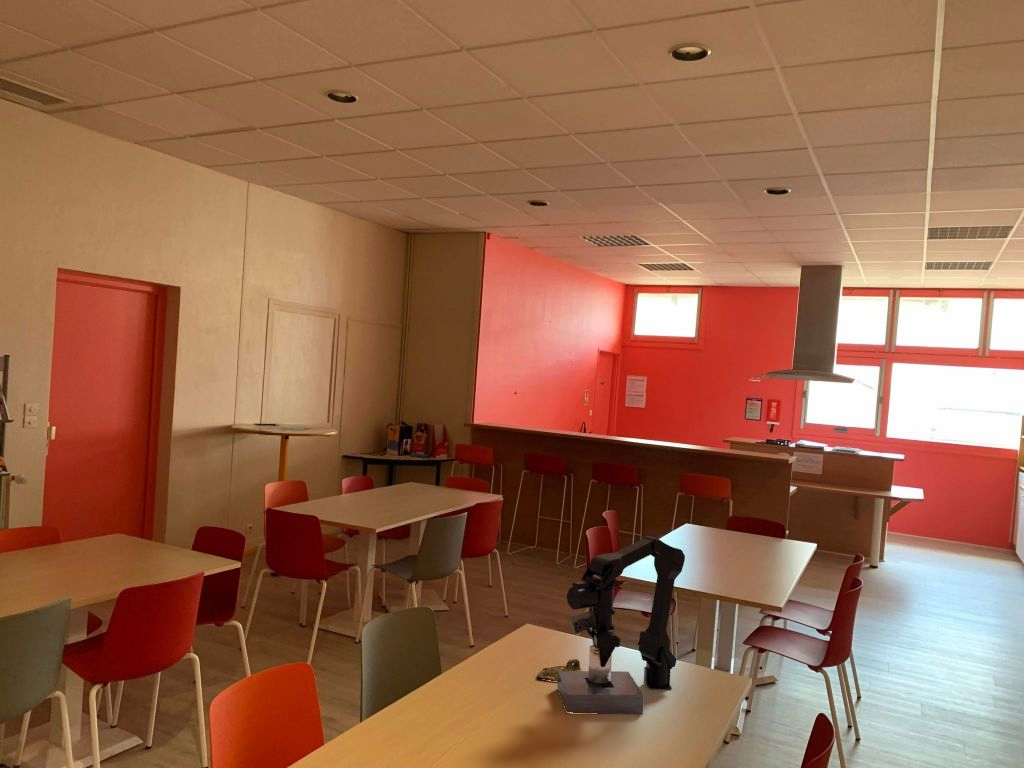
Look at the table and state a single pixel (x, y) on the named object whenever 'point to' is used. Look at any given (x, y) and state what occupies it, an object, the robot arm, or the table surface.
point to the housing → (600, 693)
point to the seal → (553, 671)
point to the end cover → (598, 667)
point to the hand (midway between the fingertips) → (600, 662)
